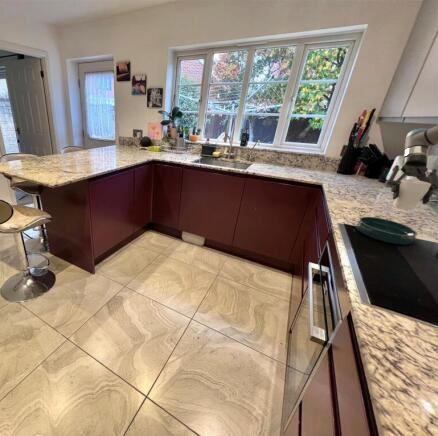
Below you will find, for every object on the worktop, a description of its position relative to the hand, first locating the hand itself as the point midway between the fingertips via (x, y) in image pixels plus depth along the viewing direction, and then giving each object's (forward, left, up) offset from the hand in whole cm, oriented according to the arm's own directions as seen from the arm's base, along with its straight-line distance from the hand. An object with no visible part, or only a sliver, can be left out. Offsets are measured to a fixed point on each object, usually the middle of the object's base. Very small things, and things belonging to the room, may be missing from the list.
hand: (410, 200), depth 102 cm
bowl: (0, +15, -14) cm, 21 cm away
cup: (+2, -3, -5) cm, 5 cm away
